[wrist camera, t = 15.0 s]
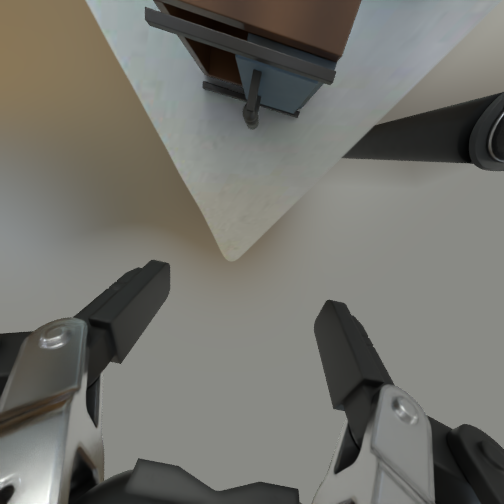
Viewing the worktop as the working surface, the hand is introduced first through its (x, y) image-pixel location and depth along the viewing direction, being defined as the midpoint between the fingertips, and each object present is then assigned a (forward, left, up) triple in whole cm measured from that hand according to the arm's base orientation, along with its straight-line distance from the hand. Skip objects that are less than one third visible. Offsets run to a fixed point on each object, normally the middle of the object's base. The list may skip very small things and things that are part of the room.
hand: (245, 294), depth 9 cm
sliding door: (+1, -11, -27) cm, 29 cm away
